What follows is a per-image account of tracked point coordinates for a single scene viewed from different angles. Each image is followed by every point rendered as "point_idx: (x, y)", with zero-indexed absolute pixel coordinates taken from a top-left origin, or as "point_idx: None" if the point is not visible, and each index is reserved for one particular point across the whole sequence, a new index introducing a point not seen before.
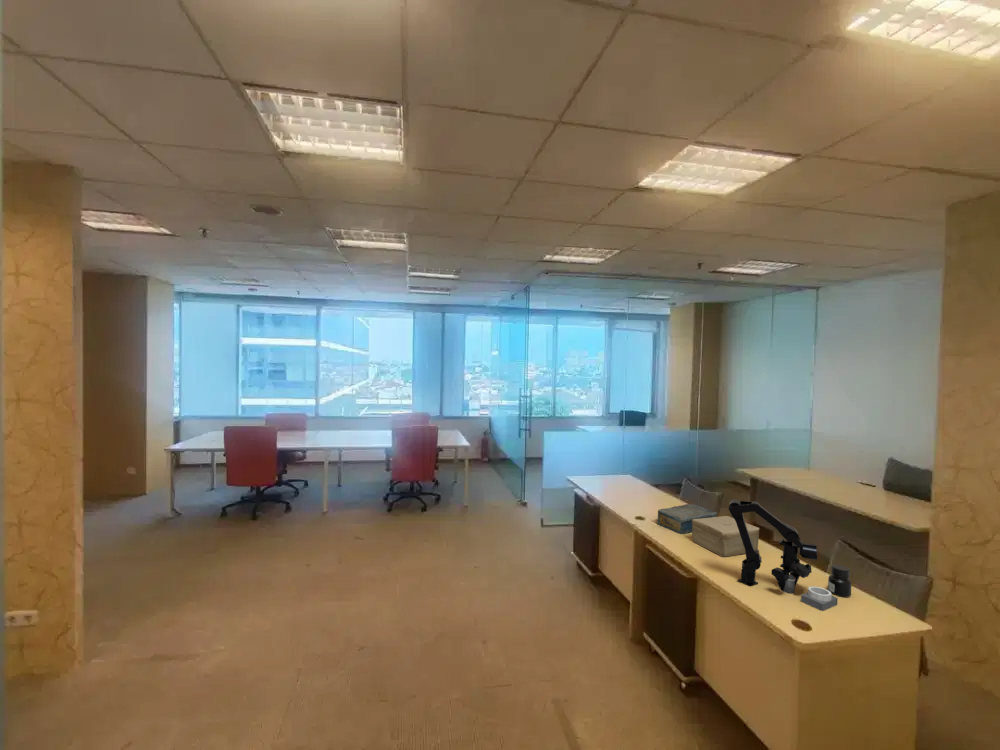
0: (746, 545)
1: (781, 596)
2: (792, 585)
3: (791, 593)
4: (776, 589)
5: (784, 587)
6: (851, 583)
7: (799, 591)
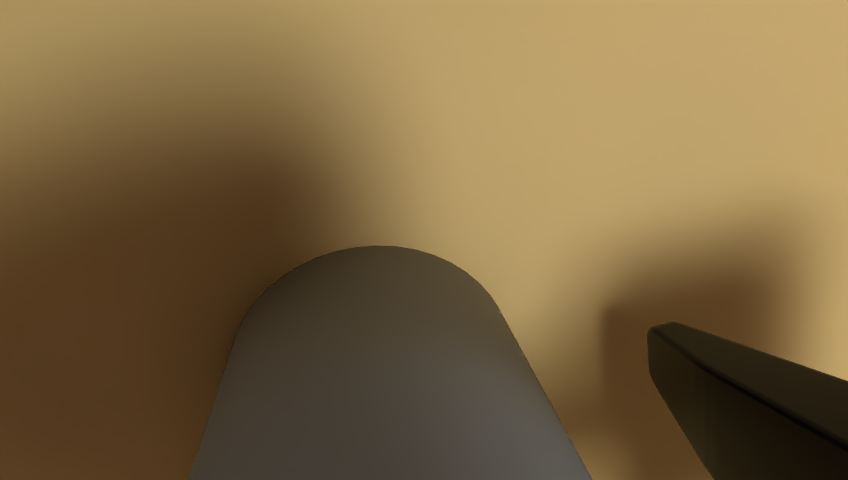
0: None
1: (801, 174)
2: (434, 401)
3: (409, 253)
4: None
5: (733, 371)
6: None
7: (49, 318)
